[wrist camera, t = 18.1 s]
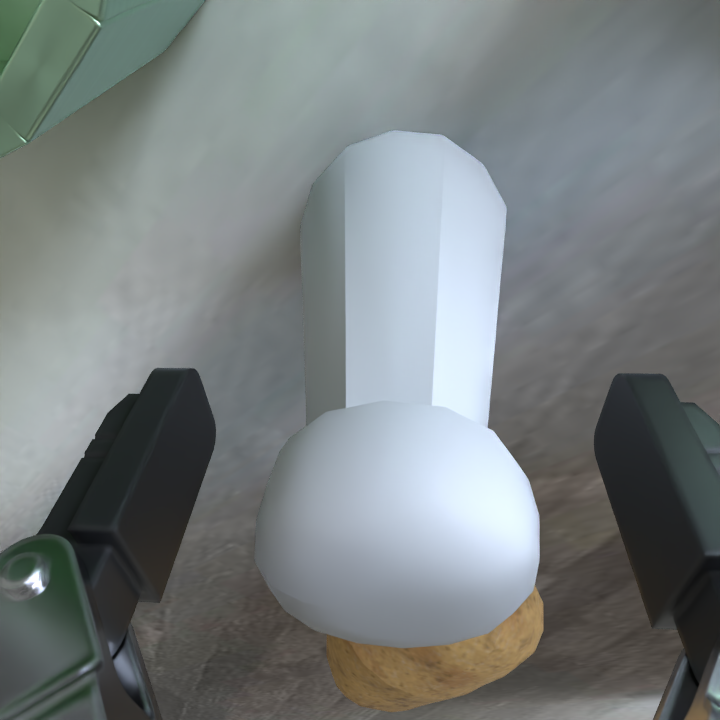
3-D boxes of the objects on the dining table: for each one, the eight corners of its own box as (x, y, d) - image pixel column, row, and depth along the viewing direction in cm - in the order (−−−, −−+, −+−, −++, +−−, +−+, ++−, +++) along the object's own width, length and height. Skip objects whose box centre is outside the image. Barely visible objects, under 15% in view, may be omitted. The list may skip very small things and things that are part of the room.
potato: (295, 568, 34) (271, 714, 28) (409, 449, 25) (409, 623, 19) (426, 609, 36) (429, 750, 31) (570, 513, 28) (614, 684, 22)
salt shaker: (409, 56, 14) (412, 412, 5) (533, 200, 17) (703, 631, 7) (276, 200, 17) (110, 598, 8) (398, 305, 20) (388, 707, 10)
